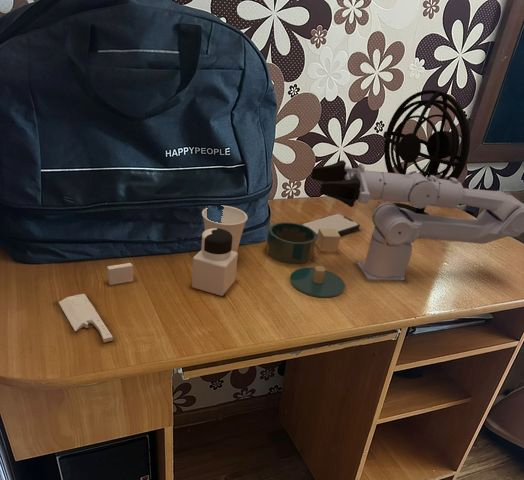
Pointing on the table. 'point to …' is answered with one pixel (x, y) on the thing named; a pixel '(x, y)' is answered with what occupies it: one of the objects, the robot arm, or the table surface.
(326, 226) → the phone case
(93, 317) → the butcher knife
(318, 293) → the lid
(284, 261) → the canister
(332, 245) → the block
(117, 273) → the eraser
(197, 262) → the medicine bottle
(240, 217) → the cup
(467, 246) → the table surface
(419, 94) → the desk fan
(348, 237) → the table surface
